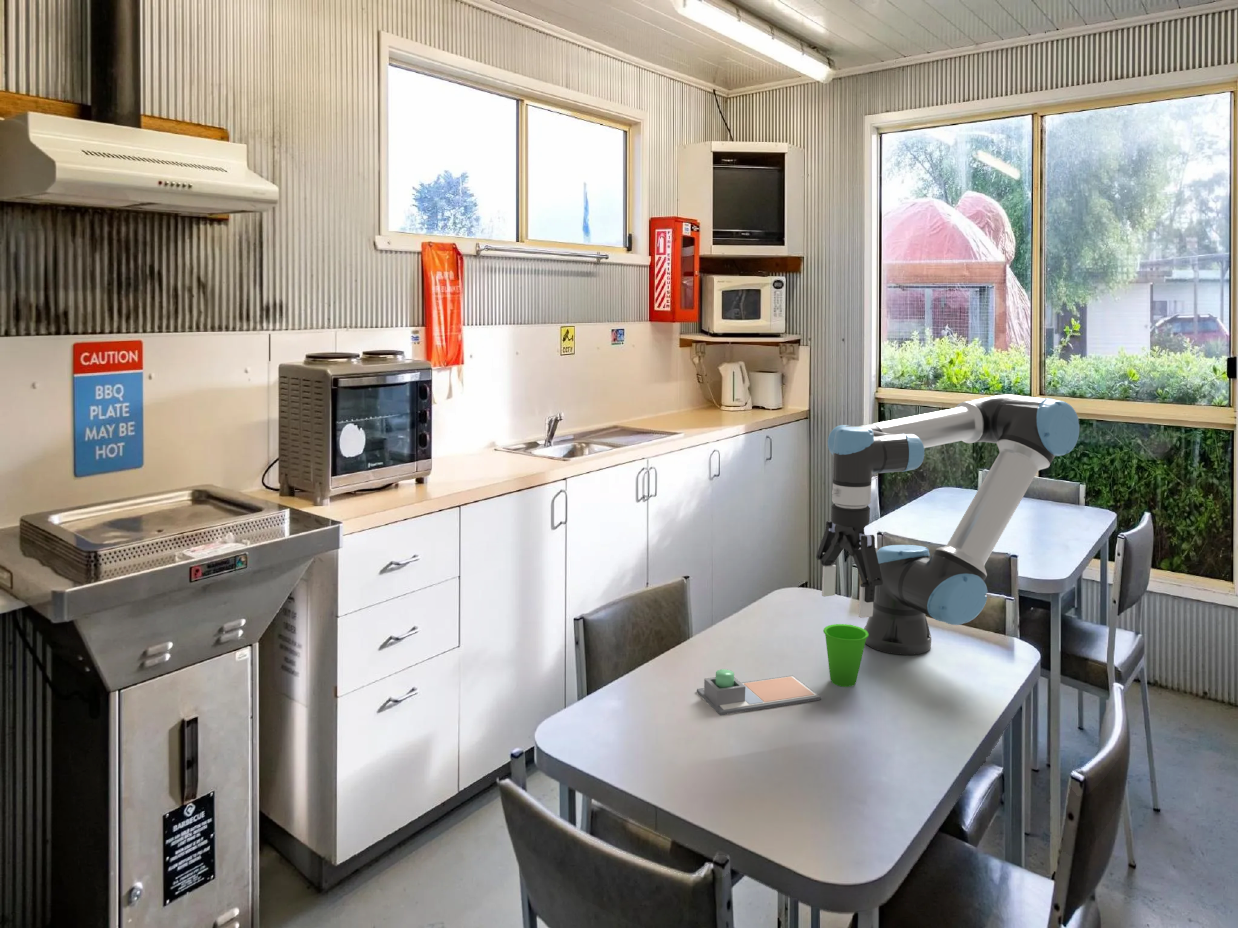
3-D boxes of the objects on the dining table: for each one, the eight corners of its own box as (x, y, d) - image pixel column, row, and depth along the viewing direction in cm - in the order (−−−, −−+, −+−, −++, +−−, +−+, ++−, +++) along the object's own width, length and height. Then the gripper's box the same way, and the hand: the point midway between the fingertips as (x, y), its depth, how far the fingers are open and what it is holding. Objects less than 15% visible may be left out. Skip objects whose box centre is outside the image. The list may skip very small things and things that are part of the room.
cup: (867, 692, 179) (870, 641, 178) (821, 688, 181) (823, 637, 179) (864, 675, 188) (867, 625, 186) (820, 671, 190) (822, 622, 188)
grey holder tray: (792, 677, 186) (793, 660, 186) (820, 699, 176) (821, 681, 176) (696, 691, 179) (697, 673, 179) (720, 715, 169) (720, 696, 169)
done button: (728, 682, 177) (729, 668, 177) (736, 689, 174) (737, 675, 173) (712, 684, 176) (712, 670, 176) (720, 692, 173) (720, 677, 172)
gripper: (802, 493, 188) (799, 589, 192) (871, 520, 165) (865, 628, 169) (833, 490, 191) (829, 585, 195) (905, 516, 168) (899, 623, 171)
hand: (846, 605), depth 182 cm, fingers open, 13 cm apart
